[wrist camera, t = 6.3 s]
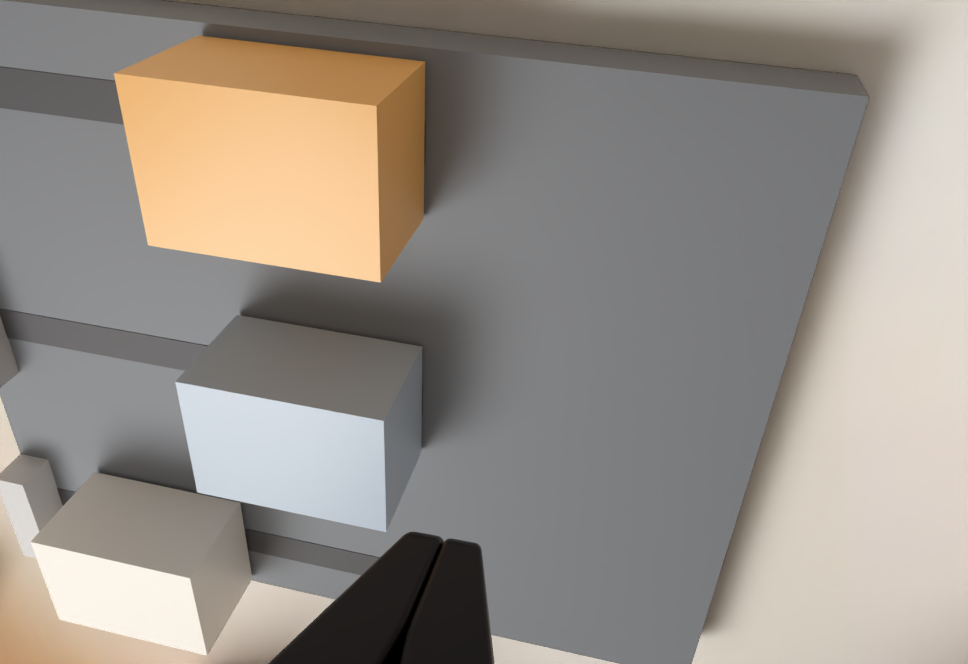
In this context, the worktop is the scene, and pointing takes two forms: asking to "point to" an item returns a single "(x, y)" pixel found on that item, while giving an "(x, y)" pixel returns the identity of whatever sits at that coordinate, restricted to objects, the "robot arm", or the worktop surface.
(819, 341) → the worktop surface
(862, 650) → the worktop surface
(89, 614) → the slider white
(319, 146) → the slider orange
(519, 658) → the worktop surface
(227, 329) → the slider blue
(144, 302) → the panel
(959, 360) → the worktop surface
